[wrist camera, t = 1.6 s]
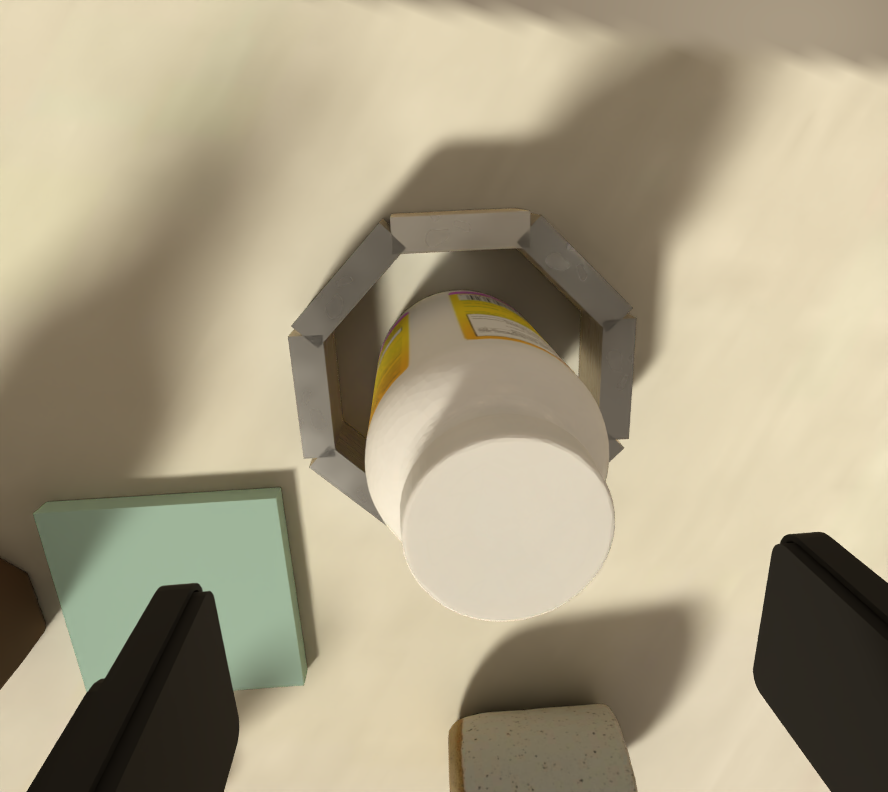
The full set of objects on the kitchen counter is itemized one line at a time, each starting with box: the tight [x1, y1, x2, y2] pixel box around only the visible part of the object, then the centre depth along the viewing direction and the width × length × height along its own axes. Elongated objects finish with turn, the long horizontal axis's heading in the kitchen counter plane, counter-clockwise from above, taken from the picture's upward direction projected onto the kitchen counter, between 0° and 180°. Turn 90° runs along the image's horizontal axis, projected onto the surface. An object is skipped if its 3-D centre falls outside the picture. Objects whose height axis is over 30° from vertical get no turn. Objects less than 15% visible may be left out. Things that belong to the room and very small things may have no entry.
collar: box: [288, 208, 636, 526], centre depth 24 cm, size 12×12×3 cm
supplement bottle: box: [365, 290, 615, 621], centre depth 19 cm, size 7×7×13 cm
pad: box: [33, 487, 307, 691], centre depth 27 cm, size 10×10×1 cm
